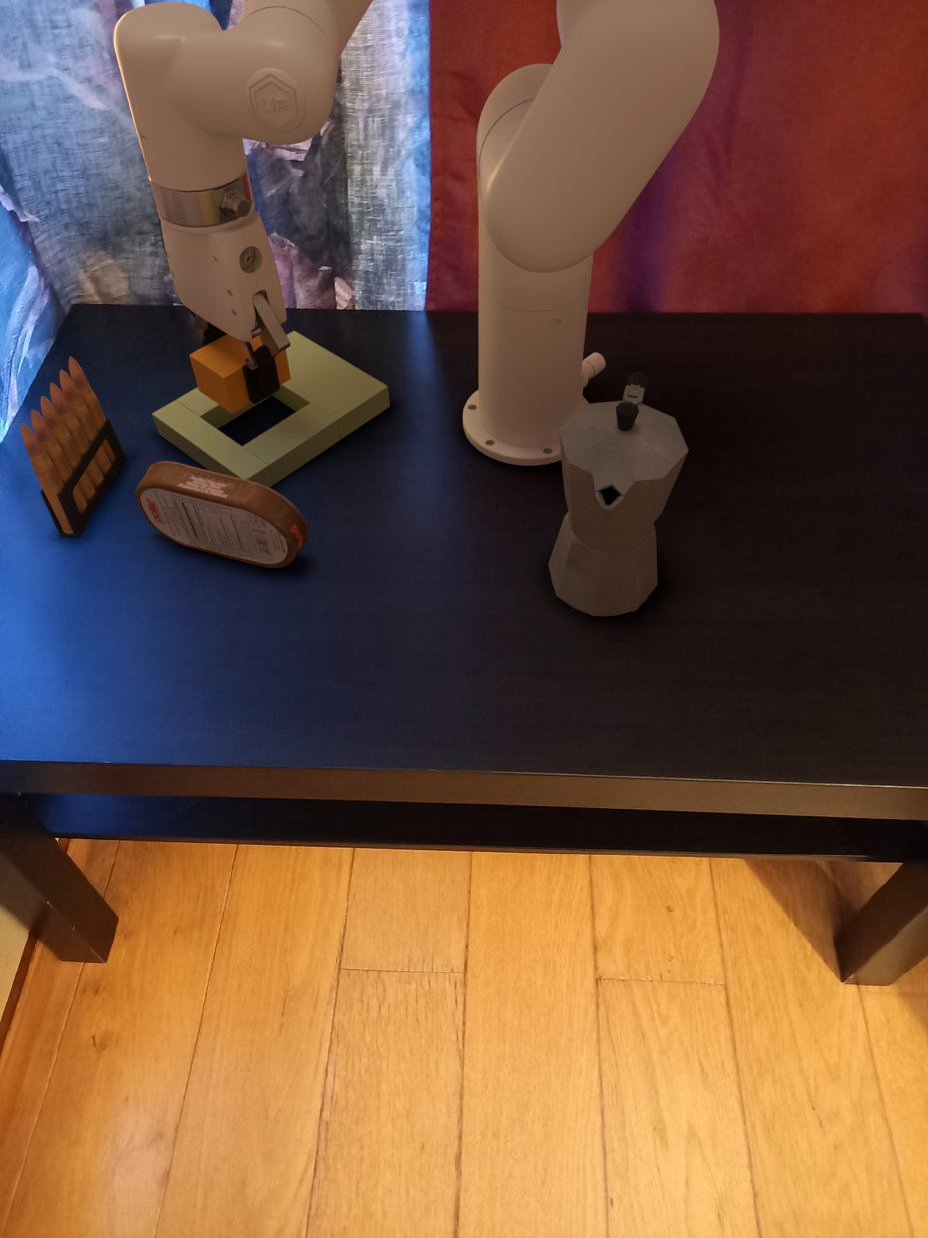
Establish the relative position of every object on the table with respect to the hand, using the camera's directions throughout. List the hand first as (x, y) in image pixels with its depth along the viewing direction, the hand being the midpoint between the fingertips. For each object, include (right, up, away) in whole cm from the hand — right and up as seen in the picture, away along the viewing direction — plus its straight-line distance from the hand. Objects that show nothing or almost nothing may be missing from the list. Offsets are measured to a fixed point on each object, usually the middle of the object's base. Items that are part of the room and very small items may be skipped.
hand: (245, 380), depth 87 cm
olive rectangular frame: (+2, -2, +5) cm, 6 cm away
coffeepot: (+32, -18, -7) cm, 38 cm away
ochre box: (0, 0, 0) cm, 0 cm away
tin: (0, -16, -5) cm, 17 cm away
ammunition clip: (-14, -11, -1) cm, 18 cm away
